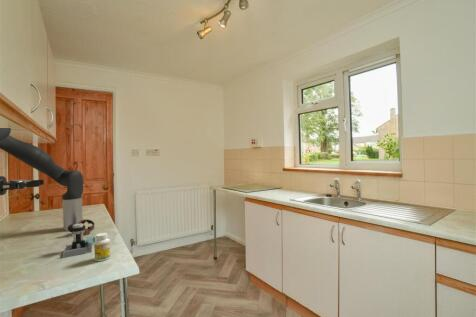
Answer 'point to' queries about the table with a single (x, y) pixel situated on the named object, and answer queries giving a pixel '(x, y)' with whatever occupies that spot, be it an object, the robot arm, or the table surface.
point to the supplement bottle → (102, 247)
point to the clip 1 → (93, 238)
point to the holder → (78, 249)
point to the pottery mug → (85, 226)
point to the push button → (77, 236)
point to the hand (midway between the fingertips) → (41, 182)
